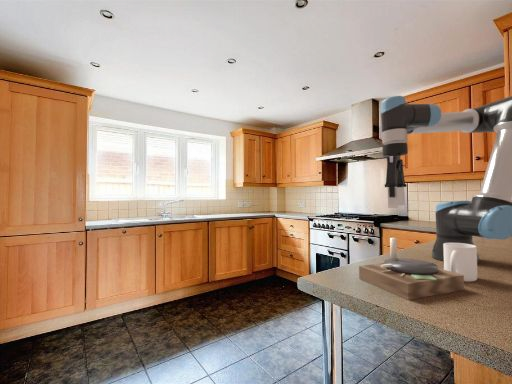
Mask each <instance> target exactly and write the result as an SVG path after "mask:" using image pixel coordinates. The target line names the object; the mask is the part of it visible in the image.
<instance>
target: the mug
mask: <svg viewBox="0 0 512 384" xmlns="http://www.w3.org/2000/svg"><path fill="white" fill-rule="evenodd" d="M477 247H478V246H477V245H475V244H474V245H471V244H464V243H444V244H443V248H444V261H443V270H446V271H450V272H454V273H457V274H461V275H464V282H475V281H477V280H478V262H477V253H478V251H477V250H478V249H477Z"/></svg>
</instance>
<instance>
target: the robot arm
mask: <svg viewBox="0 0 512 384" xmlns="http://www.w3.org/2000/svg"><path fill="white" fill-rule="evenodd" d="M380 121H381V123H380V124H381V125H380V131H381V135H380V139H382V140H381V142H382V144H383V145H382V156H383V157H385V158H386V162H387V163H386V177H385V183H384V188H387V206H388V209H398V208H399V206H406V198H405V197H406V196H405V188H407V186H408V185H407V183H406V181H405V174H404V163H403V162H404V161H403V159H401V157H402V156H405V155H408V152H409V151H408V150H409V149H408V143H407V142H408V135H413V134H415V135H416V134H430V133H433V134H434V133H447V132H449V133H450V132H461V133H463V134H474V133H476V134H477V133H496V136H495V140H494V143H493V147H492V150H491V153H490V157H489V159H488V160H489V161H488V163H487V167H486V169H485V173H484V177H483V180H482V183H481V186H480V190H479V193H477V194H476V195H475V194H474V196H472V199H471V200H453V201H444V202H443V201H442V202H439V203H437V204H436V205H435V232H436V233H435V234H436V235H435V236H436V239H435V242H434V245H433V247H432V250H431V257H432V258H433V259H436V260H438V261H443V262H444V248H443V244H444V243H464V244H471V245H475V243H474V241H473V240H474V239H473V237H477V238H483V239H484V238H485V239H487V240H501V241H502V240H507V239H509V238H511V237H512V95H510V96H507V97H504V98H500V99H499V100H495V101H493V102H489V103H487V104H484V105H481V106H477V107H474V108H467V109H464V110H463V111H455V112H454V111H453V112H452V111H451V112H442V109H441V107H440V106H439V105H437V104H434V103H407V101H406V97H405V96H402V95H393V96H389V97H387V98H385V99H383V100H382V101H381V103H380ZM479 262H480V256H479V254H478V252H477V263H479Z"/></svg>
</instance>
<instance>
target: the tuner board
mask: <svg viewBox="0 0 512 384" xmlns="http://www.w3.org/2000/svg"><path fill="white" fill-rule="evenodd" d="M383 264H384V262H381V263H374V264H365V265H359V266H358V273H359V274H358V276H359V277H358V278H359V279H360V280H361V281H363V282H366V283H369V284H370V285H373V286H375V287H377V288H379V289H381V290H384V291H387V292H389V293H392V294H394V295H396V296H398V297H400V298H403V299H404V300H405V299H406V301H407V300H414V299H421V298H425V297H430V296H437V295H443V294H448V293H455V292H459V291H464V290H465V281H464V275H461V274H457V273H454V272H450V271H446V270H444V269H442V268H439V267H438V272H437V273H435V274H429V275H417V274H407V273H401V272H396V271H393V270H390V269H388V268H386V267H384V268H382V267H381V265H383Z"/></svg>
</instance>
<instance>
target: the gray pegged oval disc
mask: <svg viewBox="0 0 512 384" xmlns="http://www.w3.org/2000/svg"><path fill="white" fill-rule="evenodd" d="M389 253H390V256H389V257H390V258H387V259H385V260H384V261H383V263H384V264H383V265H381V267H382V268H384V267H386V268H388V269H390V270H393V271H396V272H401V273H407V274H417V275H429V274H435V273H437V272H438V268H439V266H438V264H435V263H433V262H430V261H427V260H421V259H417V258H416V259H414V258H405V257H404V258H403V257H399V258H398V238H397V237H389Z"/></svg>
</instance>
